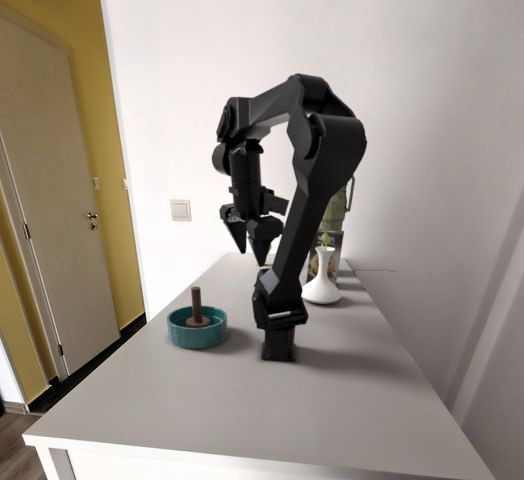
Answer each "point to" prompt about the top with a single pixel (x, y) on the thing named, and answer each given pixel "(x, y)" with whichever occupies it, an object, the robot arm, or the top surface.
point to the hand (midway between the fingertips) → (252, 259)
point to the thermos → (337, 208)
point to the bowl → (197, 336)
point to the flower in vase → (322, 277)
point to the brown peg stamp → (197, 311)
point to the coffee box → (334, 260)
